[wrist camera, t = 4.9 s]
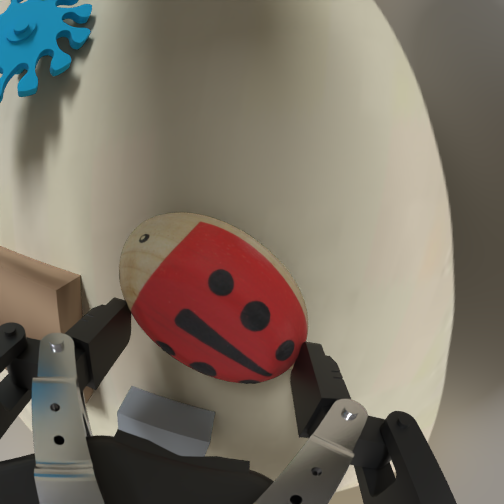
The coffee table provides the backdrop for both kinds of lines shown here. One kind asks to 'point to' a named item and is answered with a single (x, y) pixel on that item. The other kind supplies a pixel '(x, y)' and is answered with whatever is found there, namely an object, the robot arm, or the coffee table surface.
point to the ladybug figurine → (213, 297)
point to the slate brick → (166, 422)
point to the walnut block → (39, 297)
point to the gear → (38, 39)
